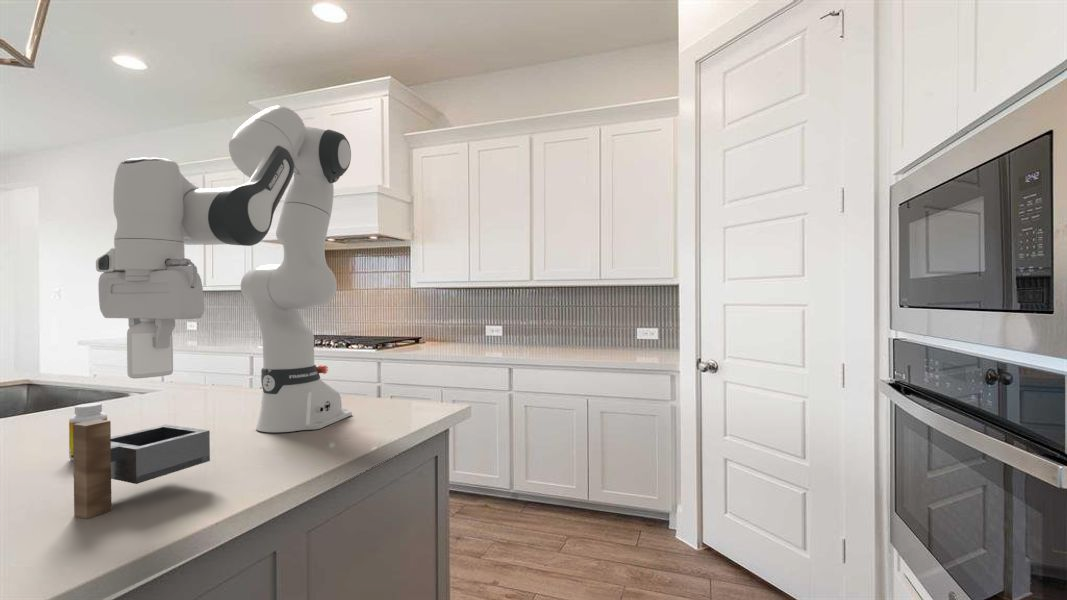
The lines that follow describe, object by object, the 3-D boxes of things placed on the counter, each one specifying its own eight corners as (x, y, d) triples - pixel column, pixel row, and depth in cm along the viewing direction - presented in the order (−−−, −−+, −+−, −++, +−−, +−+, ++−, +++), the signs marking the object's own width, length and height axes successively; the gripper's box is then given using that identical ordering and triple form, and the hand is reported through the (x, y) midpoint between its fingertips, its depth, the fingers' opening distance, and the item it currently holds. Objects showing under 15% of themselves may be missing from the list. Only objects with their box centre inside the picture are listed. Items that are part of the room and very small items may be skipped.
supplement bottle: (66, 464, 94) (65, 409, 94) (72, 456, 98) (72, 404, 98) (105, 458, 97) (104, 405, 97) (109, 451, 102) (109, 400, 101)
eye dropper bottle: (167, 377, 78) (165, 300, 78) (123, 379, 76) (121, 300, 76) (176, 373, 82) (175, 299, 82) (134, 375, 80) (133, 300, 80)
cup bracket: (166, 476, 87) (165, 401, 87) (210, 485, 83) (209, 406, 83) (58, 511, 73) (57, 421, 73) (104, 523, 69) (102, 428, 69)
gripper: (215, 259, 78) (216, 347, 79) (132, 263, 86) (134, 343, 86) (173, 256, 73) (174, 352, 73) (88, 261, 80) (90, 347, 80)
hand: (152, 347), depth 80 cm, fingers closed on eye dropper bottle, 3 cm apart
